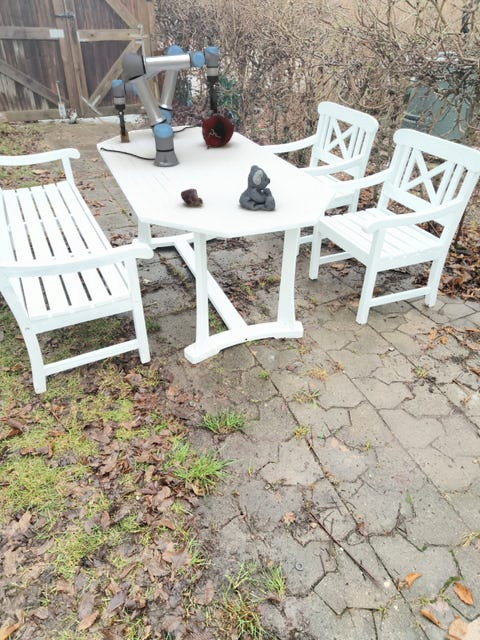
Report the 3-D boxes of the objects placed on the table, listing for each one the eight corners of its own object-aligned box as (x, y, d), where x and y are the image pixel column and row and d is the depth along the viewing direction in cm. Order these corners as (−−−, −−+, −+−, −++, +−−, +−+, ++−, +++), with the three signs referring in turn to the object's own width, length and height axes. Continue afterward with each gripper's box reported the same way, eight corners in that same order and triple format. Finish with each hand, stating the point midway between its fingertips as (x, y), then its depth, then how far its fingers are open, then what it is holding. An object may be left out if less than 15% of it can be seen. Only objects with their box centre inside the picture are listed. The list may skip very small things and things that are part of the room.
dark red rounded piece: (199, 121, 337) (198, 117, 314) (230, 114, 337) (230, 110, 313) (206, 150, 344) (205, 149, 321) (236, 143, 343) (237, 142, 320)
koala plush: (276, 211, 223) (277, 171, 212) (240, 212, 222) (240, 172, 211) (271, 199, 237) (272, 161, 226) (237, 200, 236) (237, 162, 225)
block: (121, 142, 343) (119, 131, 339) (121, 141, 347) (120, 130, 343) (129, 142, 344) (127, 131, 340) (129, 140, 348) (127, 129, 344)
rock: (196, 202, 238) (178, 205, 233) (194, 185, 234) (176, 188, 230) (205, 205, 228) (187, 208, 224) (203, 188, 224) (185, 191, 220)
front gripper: (221, 77, 273) (222, 115, 285) (215, 72, 294) (216, 108, 306) (209, 77, 272) (210, 115, 284) (204, 73, 292) (205, 108, 305)
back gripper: (124, 106, 321) (128, 137, 333) (125, 100, 341) (129, 130, 353) (113, 106, 320) (118, 137, 332) (115, 101, 340) (119, 130, 352)
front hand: (213, 111), depth 295 cm, fingers open, 13 cm apart
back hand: (123, 134), depth 343 cm, fingers open, 13 cm apart
